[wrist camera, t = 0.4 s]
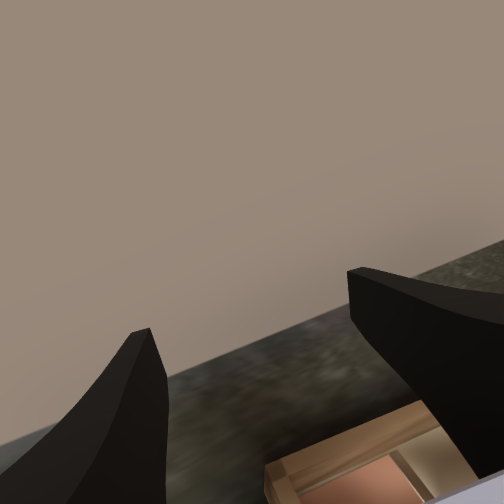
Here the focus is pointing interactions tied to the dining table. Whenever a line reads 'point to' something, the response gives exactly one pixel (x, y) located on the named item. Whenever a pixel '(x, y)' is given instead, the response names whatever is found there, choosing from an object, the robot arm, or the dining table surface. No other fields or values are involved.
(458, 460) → the corner arena
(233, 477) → the dining table surface
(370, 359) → the dining table surface
